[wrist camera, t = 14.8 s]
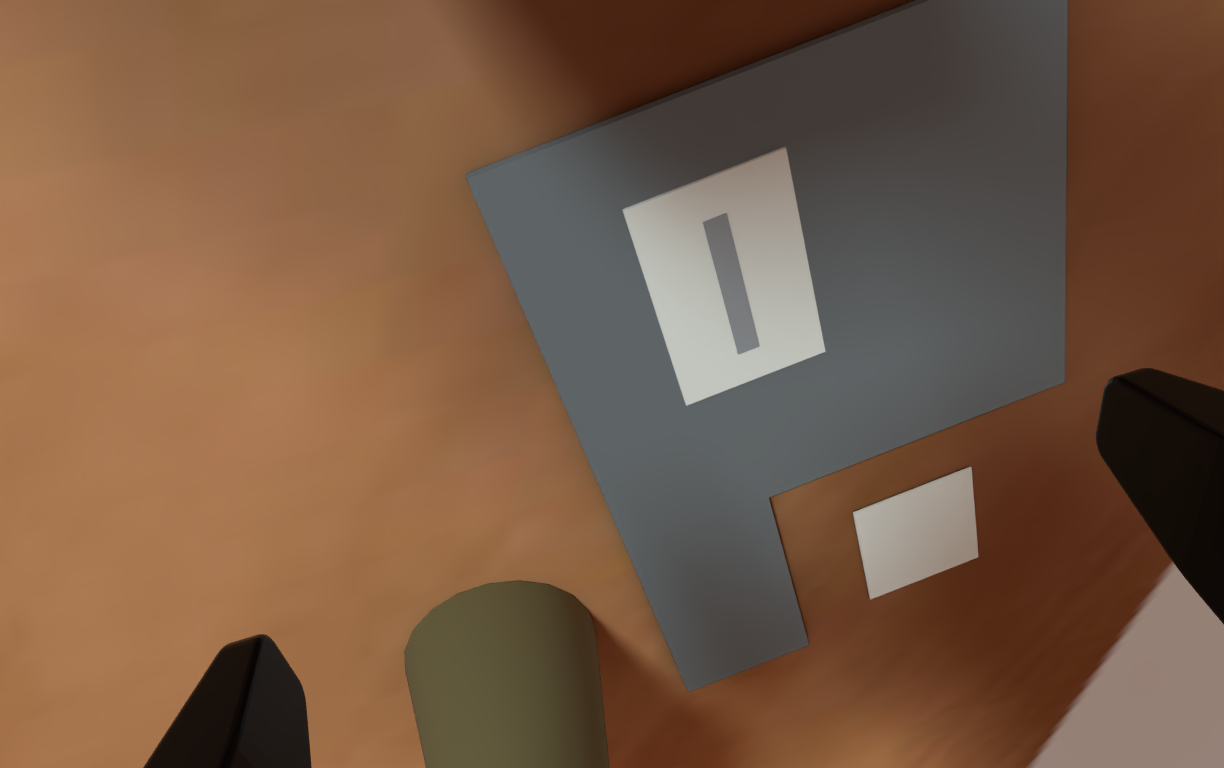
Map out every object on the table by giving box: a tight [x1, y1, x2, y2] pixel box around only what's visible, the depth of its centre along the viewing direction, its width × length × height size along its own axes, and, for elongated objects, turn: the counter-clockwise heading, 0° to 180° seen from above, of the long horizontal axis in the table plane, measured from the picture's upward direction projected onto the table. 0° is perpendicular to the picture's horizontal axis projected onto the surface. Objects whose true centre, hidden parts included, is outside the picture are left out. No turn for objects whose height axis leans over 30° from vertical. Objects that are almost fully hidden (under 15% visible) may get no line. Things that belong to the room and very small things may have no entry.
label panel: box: [466, 0, 1068, 692], centre depth 26 cm, size 20×14×1 cm
